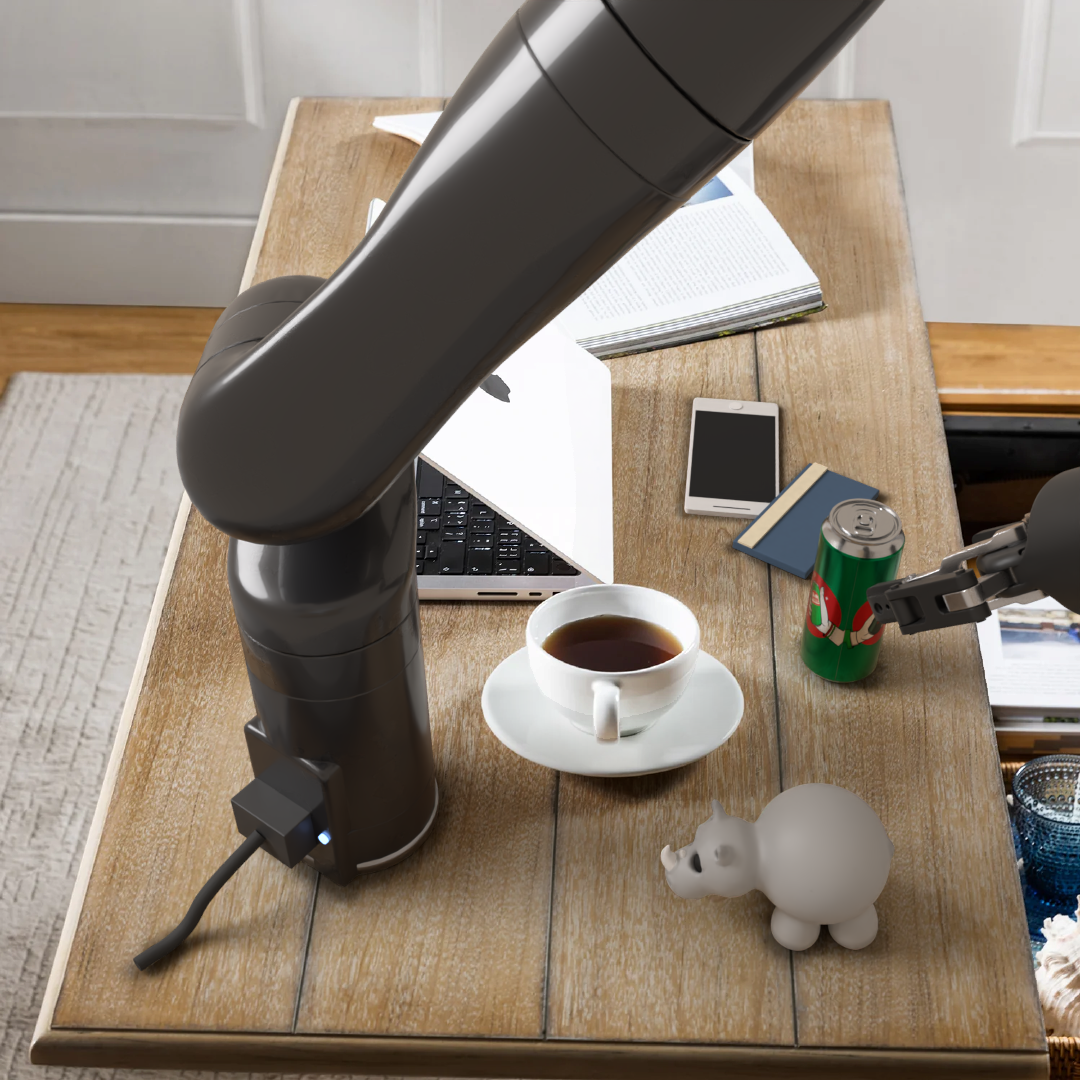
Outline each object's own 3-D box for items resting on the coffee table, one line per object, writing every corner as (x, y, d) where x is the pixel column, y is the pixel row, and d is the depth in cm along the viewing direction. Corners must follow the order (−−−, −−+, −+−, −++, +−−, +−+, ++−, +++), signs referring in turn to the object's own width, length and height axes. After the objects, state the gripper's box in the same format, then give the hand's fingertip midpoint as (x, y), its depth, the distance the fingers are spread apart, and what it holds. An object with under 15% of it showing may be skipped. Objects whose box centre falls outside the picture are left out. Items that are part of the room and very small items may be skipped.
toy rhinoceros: (652, 851, 73) (660, 753, 68) (863, 854, 73) (888, 755, 67) (659, 964, 67) (668, 866, 62) (887, 967, 67) (916, 869, 62)
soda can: (878, 641, 86) (910, 501, 78) (873, 694, 82) (906, 553, 75) (803, 628, 87) (827, 488, 79) (794, 679, 83) (818, 538, 76)
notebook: (805, 579, 91) (806, 570, 90) (731, 547, 94) (733, 538, 93) (878, 496, 98) (880, 487, 98) (808, 469, 101) (810, 460, 100)
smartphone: (777, 411, 108) (778, 401, 108) (778, 525, 96) (779, 515, 96) (692, 405, 109) (693, 395, 108) (683, 517, 97) (684, 507, 97)
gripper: (1221, 406, 62) (988, 477, 77) (1023, 506, 56) (811, 562, 71) (1282, 548, 62) (1037, 591, 77) (1090, 662, 56) (864, 686, 71)
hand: (929, 577), depth 74 cm, fingers open, 8 cm apart
